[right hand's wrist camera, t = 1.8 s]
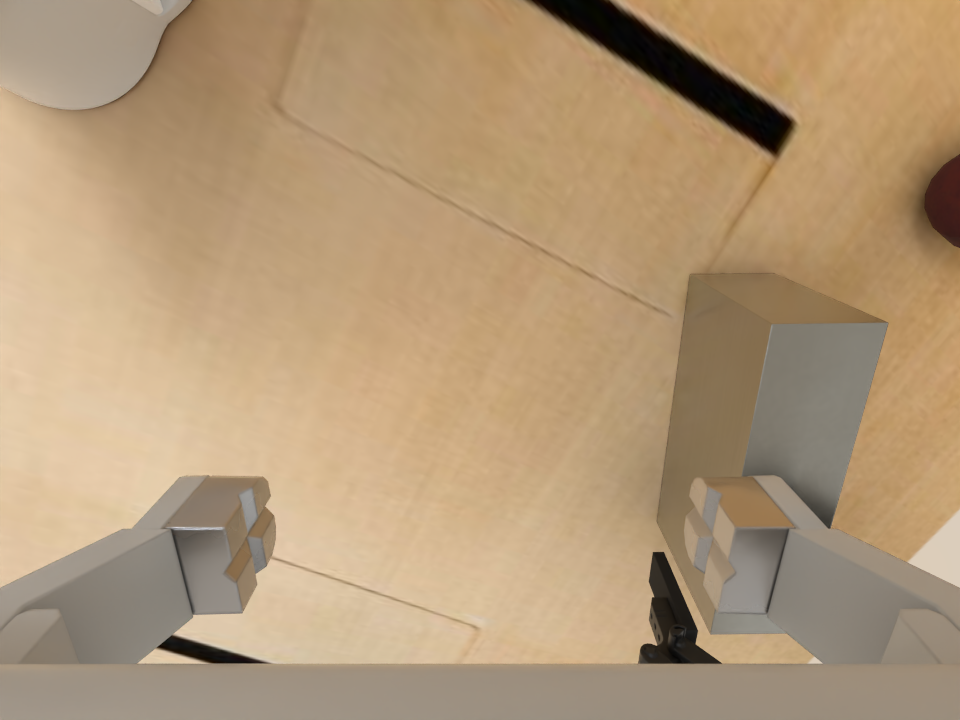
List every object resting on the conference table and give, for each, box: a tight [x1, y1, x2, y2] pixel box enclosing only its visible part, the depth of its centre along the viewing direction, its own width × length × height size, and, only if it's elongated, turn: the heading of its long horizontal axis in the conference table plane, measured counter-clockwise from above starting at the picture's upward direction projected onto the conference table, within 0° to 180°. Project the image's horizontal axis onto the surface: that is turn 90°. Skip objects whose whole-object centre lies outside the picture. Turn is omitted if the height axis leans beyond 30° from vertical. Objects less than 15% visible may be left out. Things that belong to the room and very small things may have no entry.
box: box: [657, 273, 888, 634], centre depth 39 cm, size 23×6×12 cm, turn 1°
